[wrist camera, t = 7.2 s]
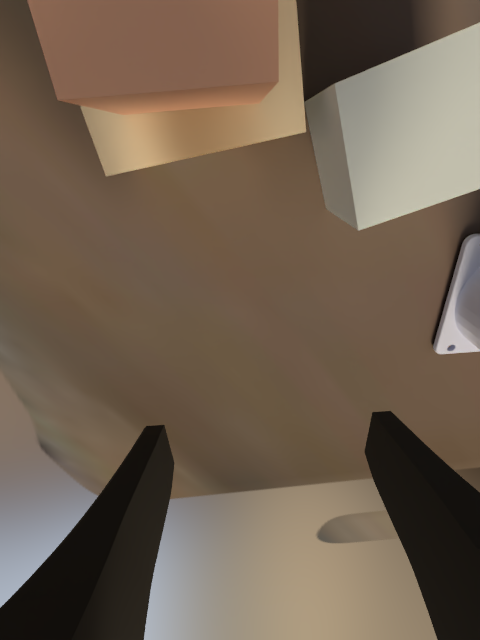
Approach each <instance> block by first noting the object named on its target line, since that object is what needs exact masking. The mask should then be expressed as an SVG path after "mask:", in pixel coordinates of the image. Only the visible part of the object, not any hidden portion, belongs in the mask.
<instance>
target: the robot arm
mask: <svg viewBox="0 0 480 640" xmlns="http://www.w3.org/2000/svg"><path fill="white" fill-rule="evenodd" d="M450 345H451V346H450ZM448 346H450V347H448ZM433 349H434V351H435V352H436V353H438V354H451V353H465V352H479V351H480V234H472V235H469V236H468V237H466V239H465V240H464V241H463V243H462V247H461V250H460V254H459V257H458V261H457V264H456V268H455V271H454V275H453V278H452V282H451V285H450V289H449V292H448V296H447V299H446V303H445V306H444V310H443V314H442V317H441V321H440V324H439V328H438V331H437V335H436V338H435V342H434V345H433ZM365 455H366V458H367V461H368V464H369V467H370V471H371V474H372V477H373V479H374V482H375V485H376V487H377V489H378V491H379V494H380V496H381V498H382V500H383V503H384V505H385V507H386V510H387V512H388V514H389V516H390V518H391V521H392V523H393V525H394V527H395V530H396V532H397V534H398V536H399V538H400V540H401V543H402V545H403V547H404V549H405V551H406V554H407V556H408V559H409V561H410V563H411V566H412V568H413V571H414V573H415V576H416V579H417V581H418V584H419V587H420V590H421V592H422V596H423V598H424V601H425V604H426V607H427V609H428V612H429V615H430V618H431V621H432V624H433V627H434V630H435V633H436V636H437V639H438V640H480V493H479V492H478V491H477V490H476V489H475V488H474V487H472V486H471V485H470V484H469V483H468V482H467V481H465V480H464V479H463V478H462V477H460V475H458V474H457V473H456V472H455V471H454V470H453V469H452V468H451V467H449V466H448V465H447V464H446V463H445V462H444V461H443V460H442V459H441V458H439V457H438V456H437V455H436V454H435V453H434V452H433V451H432V450H431V449H430V448H429V447H428V446H426V445H425V444H424V443H423V442H422V441H421V440H420V439H419V438H418V437H417V436H416V435H415V434H414V433H413V432H412V431H411V430H410V429H409V428H408V427H407V426H406V425H405V424H403V423H402V422H401V421H400V420H399V419H398V418H397V417H396V416H395V415H394V414H393V413H392V412H391V411H385V412H373V413H372V418H371V422H370V427H369V432H368V437H367V442H366V447H365ZM173 470H174V460H173V456H172V453H171V449H170V445H169V441H168V438H167V434H166V430H165V426H164V425H157V426H146V427H145V428H144V430H143V431H142V433H141V435H140V436H139V438H138V439H137V441H136V443H135V444H134V446H133V447H132V449H131V450H130V452H129V453H128V455H127V456H126V458H125V459H124V461H123V462H122V464H121V465H120V467H119V468H118V470H117V471H116V473H115V474H114V475H113V477H112V478H111V480H110V481H109V483H108V484H107V485H106V487H105V488H104V490H103V491H102V492H101V494H100V495H99V496H98V497H97V499H96V500H95V501H94V503H93V504H92V506H91V507H90V508H89V509H88V511H87V512H86V513H85V515H84V516H83V517H82V518H81V520H80V521H79V522H78V523H77V524H76V526H75V527H74V528H73V529H72V531H71V532H70V533H69V534H68V535H67V537H66V538H65V539H64V540H63V541H62V543H61V544H60V545H59V546H58V547H57V548H56V549H55V551H54V552H53V553H52V554H51V555H50V556H49V557H48V558H47V559H46V561H45V562H44V563H43V564H42V565H41V566H40V567H39V568H38V569H37V570H36V572H35V573H34V574H33V575H32V576H31V577H30V578H29V579H28V580H27V581H26V582H25V583H24V584H23V585H22V586H21V587H20V588H19V590H18V591H17V592H16V593H15V594H14V595H13V596H12V597H11V598H10V599H9V600H8V601H7V602H6V603H5V604H4V605H3V606H2V607H1V608H0V640H144V632H145V624H146V617H147V610H148V603H149V596H150V589H151V583H152V578H153V572H154V567H155V563H156V559H157V554H158V549H159V545H160V540H161V536H162V532H163V527H164V523H165V518H166V514H167V509H168V505H169V500H170V495H171V488H172V480H173Z"/></svg>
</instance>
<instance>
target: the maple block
mask: <svg viewBox="0 0 480 640" xmlns="http://www.w3.org/2000/svg"><path fill="white" fill-rule="evenodd" d="M278 42H279V82H278V83H277V84H276V85H275V86H274V87H273V89H272V90H271V91H270V92H269V93H268V94H267V95H266V96H265V98H264V99H263V100H262V101H261V102H260V103H258V104H247V105H235V106H223V107H211V108H199V109H187V110H176V111H164V112H152V113H140V114H128V115H121V114H116V113H112V112H107V111H103V110H99V109H94V108H90V107H85V106H81V105H80V107H81V110H82V113H83V115H84V118H85V121H86V123H87V126H88V129H89V132H90V134H91V137H92V140H93V142H94V145H95V148H96V150H97V153H98V156H99V159H100V161H101V164H102V167H103V169H104V172H105V175H106V176H110V175H115V174H119V173H124V172H128V171H133V170H137V169H142V168H146V167H151V166H155V165H160V164H164V163H169V162H173V161H178V160H182V159H187V158H191V157H196V156H200V155H205V154H209V153H214V152H218V151H223V150H227V149H232V148H236V147H241V146H245V145H250V144H254V143H259V142H263V141H268V140H273V139H277V138H282V137H286V136H291V135H295V134H300V133H304V132H306V124H305V110H304V97H303V83H302V70H301V57H300V43H299V30H298V16H297V3H296V0H278Z"/></svg>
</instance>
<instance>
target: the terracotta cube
mask: <svg viewBox="0 0 480 640" xmlns="http://www.w3.org/2000/svg"><path fill="white" fill-rule="evenodd" d="M27 1H28V4H29V8H30V11H31V14H32V17H33V21H34V24H35V27H36V31H37V34H38V37H39V40H40V44H41V47H42V50H43V54H44V57H45V60H46V63H47V67H48V70H49V73H50V76H51V80H52V83H53V86H54V90H55V93H56V96H57V99H58V101H63V102H67V103H72V104H76V105H81V106H85V107H90V108H94V109H99V110H103V111H107V112H112V113H116V114H121V115H128V114H140V113H152V112H164V111H176V110H187V109H199V108H211V107H223V106H235V105H247V104H258V103H260V102H261V101H262V100H263V99H264V98H265V96H266V95H267V94H268V93H269V92H270V91H271V90H272V89H273V87H274V86H275V85H276V84H277V83H278V82H279V42H278V0H27Z"/></svg>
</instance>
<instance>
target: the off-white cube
mask: <svg viewBox="0 0 480 640" xmlns="http://www.w3.org/2000/svg"><path fill="white" fill-rule="evenodd" d="M304 104H305V109H306V114H307V119H308V124H309V129H310V134H311V138H312V143H313V148H314V153H315V158H316V163H317V167H318V172H319V177H320V182H321V187H322V192H323V196H324V201H325V206H326V209H327V210H329V211H330V212H332V213H333V214H335V215H336V216H338V217H339V218H340V219H342V220H343V221H345V222H346V223H348V224H349V225H351V226H352V227H354V228H355V229H357V230H358V231H359V230H362V229H365V228H368V227H371V226H374V225H376V224H379V223H382V222H385V221H388V220H391V219H394V218H397V217H400V216H403V215H406V214H408V213H411V212H414V211H417V210H420V209H423V208H426V207H429V206H432V205H435V204H437V203H440V202H443V201H446V200H449V199H452V198H455V197H458V196H461V195H464V194H467V193H469V192H472V191H475V190H478V189H480V23H478V24H475V25H473V26H471V27H468V28H466V29H463V30H461V31H459V32H456V33H454V34H451V35H449V36H447V37H444V38H442V39H440V40H437V41H435V42H432V43H430V44H428V45H425V46H423V47H420V48H418V49H416V50H413V51H411V52H409V53H406V54H404V55H401V56H399V57H397V58H394V59H392V60H390V61H387V62H385V63H382V64H380V65H378V66H375V67H373V68H370V69H368V70H366V71H363V72H361V73H359V74H356V75H354V76H351V77H349V78H347V79H344V80H342V81H339V82H337V83H335V84H333V85H331V86H330V87H328V88H326V89H325V90H323V91H322V92H320V93H318V94H317V95H315V96H313V97H312V98H310V99H308V100H307V101H305V102H304Z"/></svg>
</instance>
